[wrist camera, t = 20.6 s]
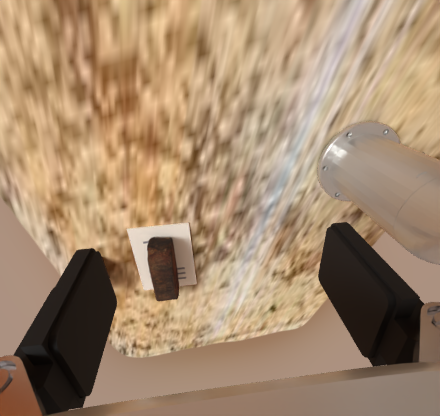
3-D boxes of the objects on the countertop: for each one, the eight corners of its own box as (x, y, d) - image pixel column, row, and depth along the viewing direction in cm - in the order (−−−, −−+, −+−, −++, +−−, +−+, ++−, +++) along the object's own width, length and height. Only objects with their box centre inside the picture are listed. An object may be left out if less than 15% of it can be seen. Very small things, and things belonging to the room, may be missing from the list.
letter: (188, 222, 43) (188, 223, 43) (196, 283, 50) (196, 284, 50) (127, 228, 43) (126, 229, 42) (144, 289, 50) (143, 290, 49)
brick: (179, 280, 49) (179, 300, 45) (158, 282, 49) (155, 302, 45) (172, 233, 44) (171, 251, 40) (148, 236, 43) (144, 254, 39)
